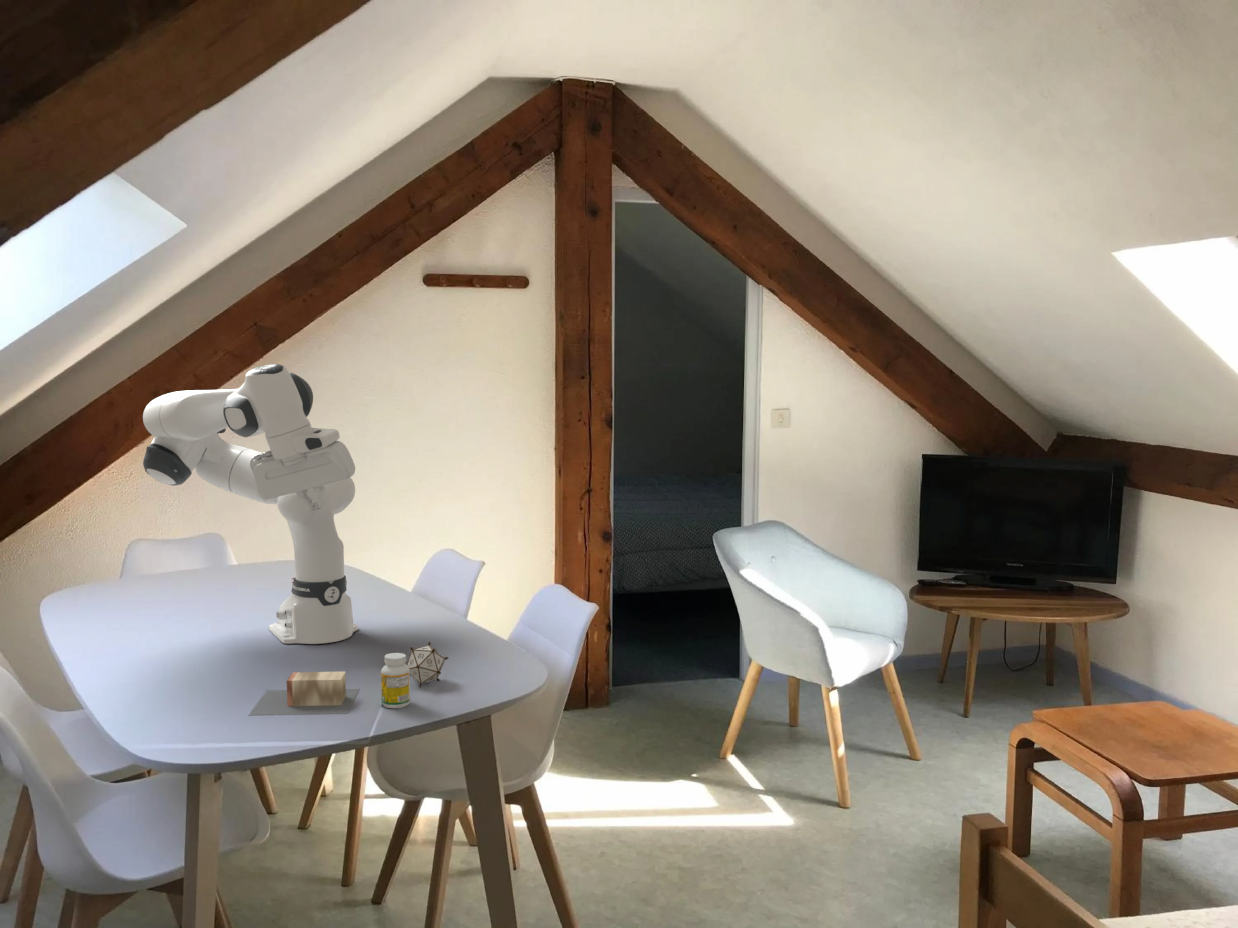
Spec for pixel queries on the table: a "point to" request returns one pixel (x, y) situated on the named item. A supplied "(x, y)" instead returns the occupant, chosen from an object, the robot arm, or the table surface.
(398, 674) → the supplement bottle
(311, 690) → the birch block
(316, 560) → the robot arm
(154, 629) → the table surface
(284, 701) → the rubber mat
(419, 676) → the game die
